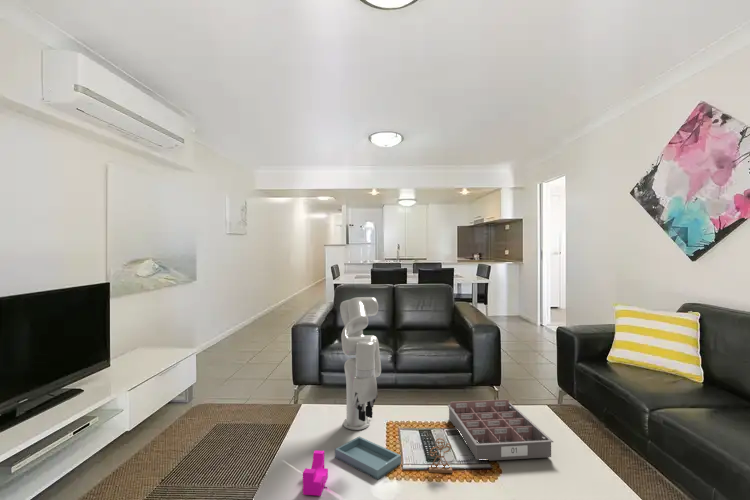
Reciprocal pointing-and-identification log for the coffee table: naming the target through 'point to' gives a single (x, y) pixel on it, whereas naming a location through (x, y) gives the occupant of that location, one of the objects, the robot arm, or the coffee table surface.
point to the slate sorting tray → (368, 457)
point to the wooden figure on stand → (437, 469)
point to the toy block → (315, 475)
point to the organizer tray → (498, 430)
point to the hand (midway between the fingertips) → (365, 418)
